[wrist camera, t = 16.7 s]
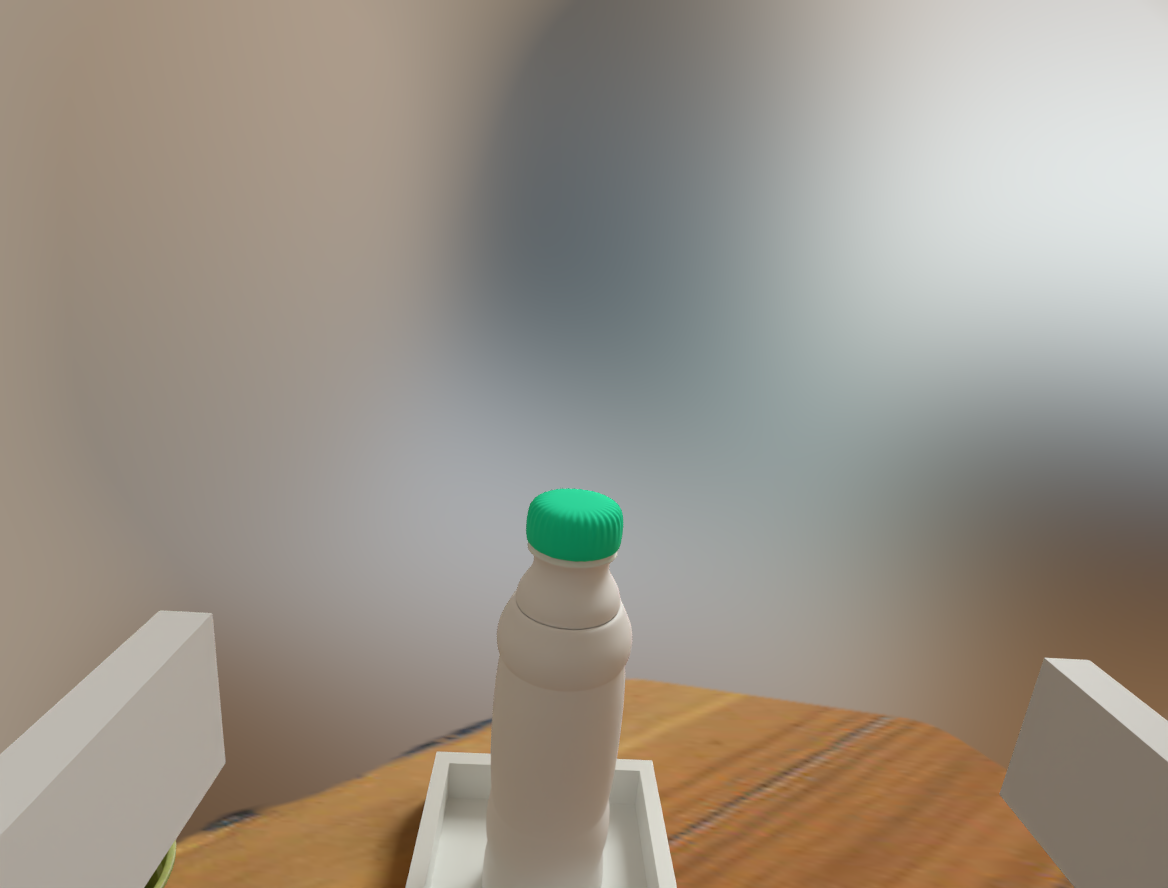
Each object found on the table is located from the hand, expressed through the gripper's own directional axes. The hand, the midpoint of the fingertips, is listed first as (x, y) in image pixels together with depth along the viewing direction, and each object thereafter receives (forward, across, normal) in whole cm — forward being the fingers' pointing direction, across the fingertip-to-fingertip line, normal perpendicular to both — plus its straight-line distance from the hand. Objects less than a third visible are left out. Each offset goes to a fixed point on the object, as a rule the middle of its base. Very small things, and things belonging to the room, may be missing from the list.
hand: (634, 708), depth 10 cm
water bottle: (+21, 0, -30) cm, 37 cm away
